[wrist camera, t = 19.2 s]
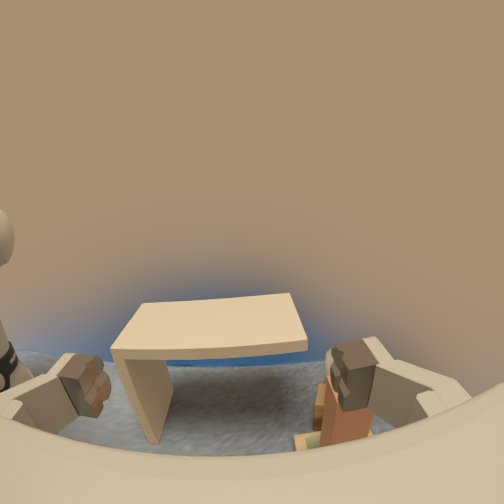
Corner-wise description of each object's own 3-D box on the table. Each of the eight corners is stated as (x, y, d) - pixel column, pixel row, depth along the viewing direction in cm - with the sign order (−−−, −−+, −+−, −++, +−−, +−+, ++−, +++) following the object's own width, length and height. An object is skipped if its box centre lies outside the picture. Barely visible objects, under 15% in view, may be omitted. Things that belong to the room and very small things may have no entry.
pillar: (359, 461, 28) (379, 393, 24) (326, 468, 28) (337, 402, 24) (350, 438, 32) (364, 368, 29) (319, 444, 32) (326, 375, 29)
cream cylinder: (318, 398, 44) (321, 358, 42) (329, 384, 47) (332, 344, 45) (341, 406, 41) (347, 365, 39) (351, 390, 45) (357, 350, 42)
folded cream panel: (304, 439, 35) (307, 339, 31) (149, 443, 35) (109, 348, 31) (291, 384, 49) (289, 292, 45) (166, 390, 49) (142, 303, 44)
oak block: (312, 430, 37) (314, 405, 36) (317, 409, 42) (319, 383, 40) (345, 432, 36) (350, 406, 34) (347, 410, 40) (351, 384, 39)
